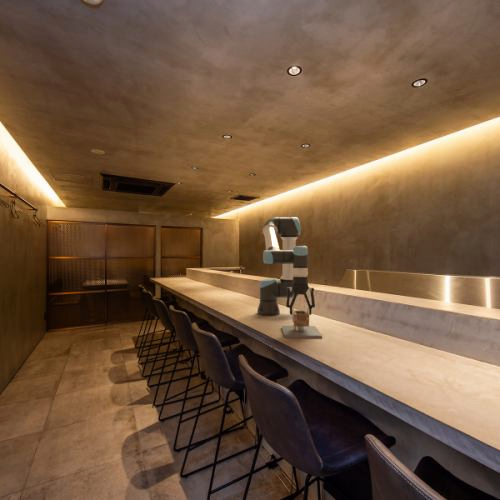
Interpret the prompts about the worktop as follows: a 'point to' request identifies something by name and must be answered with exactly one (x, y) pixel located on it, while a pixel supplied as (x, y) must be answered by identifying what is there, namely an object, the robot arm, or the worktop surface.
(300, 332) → the base
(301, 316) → the open wooden box
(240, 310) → the worktop surface
